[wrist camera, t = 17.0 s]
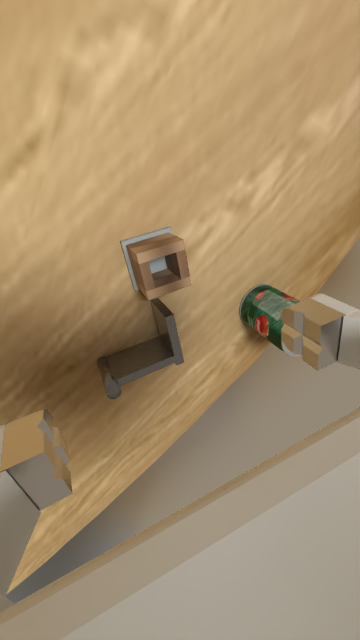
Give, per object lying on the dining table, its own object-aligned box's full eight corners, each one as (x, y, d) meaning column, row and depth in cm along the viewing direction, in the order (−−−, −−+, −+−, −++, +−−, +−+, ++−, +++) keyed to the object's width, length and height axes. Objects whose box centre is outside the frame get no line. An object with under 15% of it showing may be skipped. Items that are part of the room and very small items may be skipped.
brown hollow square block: (137, 287, 41) (148, 300, 37) (125, 245, 38) (136, 254, 34) (176, 273, 42) (191, 284, 38) (168, 232, 39) (183, 239, 35)
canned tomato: (231, 318, 51) (273, 350, 42) (254, 277, 49) (302, 301, 40) (261, 329, 55) (305, 361, 46) (283, 292, 53) (333, 317, 44)
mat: (134, 289, 42) (135, 291, 41) (120, 241, 38) (121, 242, 37) (178, 274, 43) (180, 275, 43) (169, 226, 40) (171, 227, 39)
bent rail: (100, 370, 45) (110, 402, 39) (81, 325, 41) (89, 353, 34) (168, 342, 48) (188, 368, 42) (158, 298, 44) (178, 319, 37)
